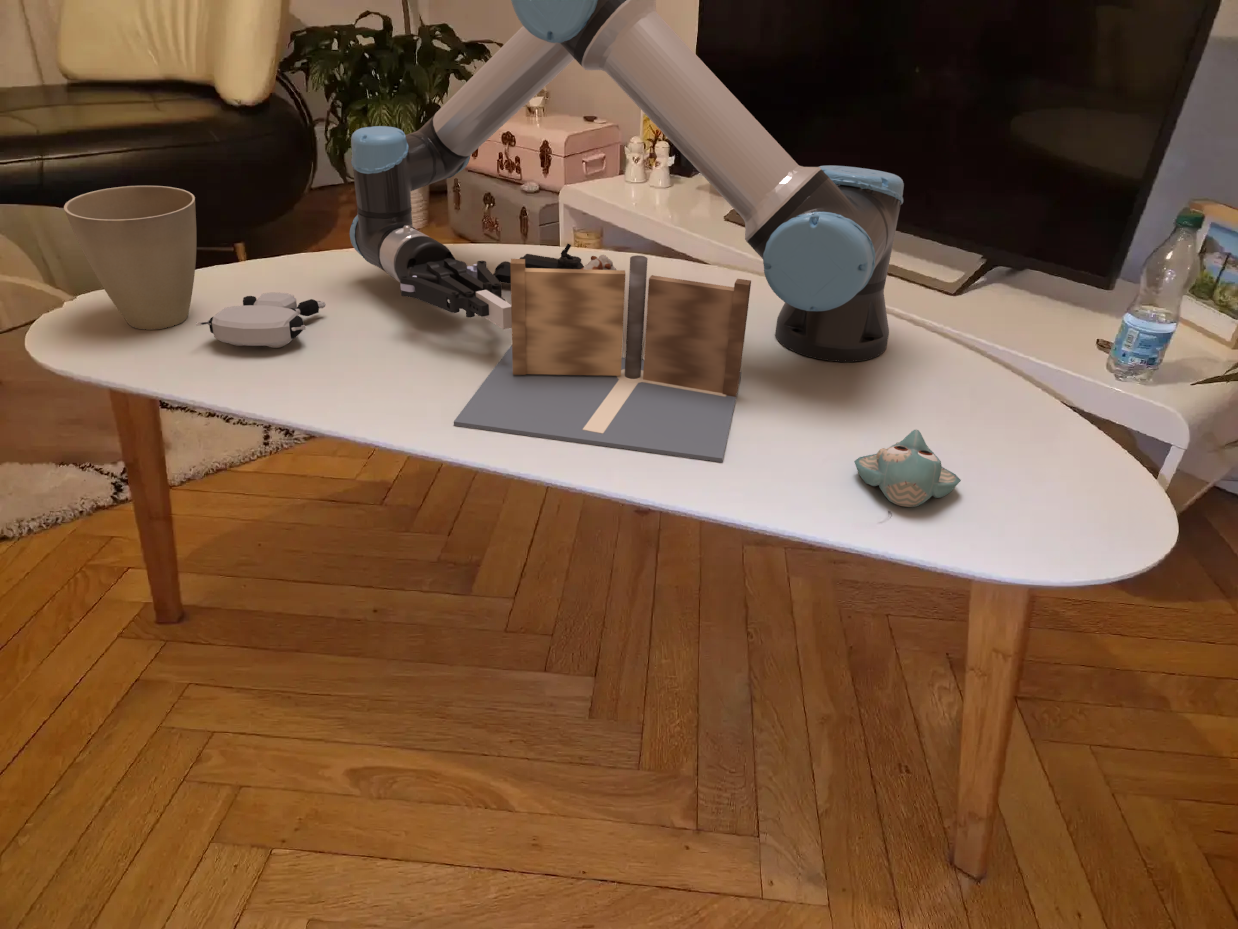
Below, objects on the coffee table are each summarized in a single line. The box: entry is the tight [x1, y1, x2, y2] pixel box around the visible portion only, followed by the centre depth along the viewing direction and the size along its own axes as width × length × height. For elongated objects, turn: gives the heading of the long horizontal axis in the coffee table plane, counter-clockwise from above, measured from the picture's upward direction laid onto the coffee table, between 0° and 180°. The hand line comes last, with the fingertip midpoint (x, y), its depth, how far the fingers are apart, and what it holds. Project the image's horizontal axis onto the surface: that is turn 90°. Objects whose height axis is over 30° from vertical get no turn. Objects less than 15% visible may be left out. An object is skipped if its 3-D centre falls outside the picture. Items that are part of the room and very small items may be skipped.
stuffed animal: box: [854, 428, 962, 508], centre depth 95 cm, size 11×7×12 cm
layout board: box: [453, 344, 742, 463], centre depth 110 cm, size 30×22×1 cm
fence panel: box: [510, 258, 626, 376], centre depth 111 cm, size 13×2×14 cm, turn 93°
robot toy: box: [195, 292, 327, 349], centre depth 122 cm, size 12×4×15 cm
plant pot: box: [63, 185, 197, 331], centre depth 121 cm, size 15×15×16 cm
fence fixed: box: [624, 255, 752, 398], centre depth 110 cm, size 14×2×16 cm, turn 73°
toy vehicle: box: [492, 242, 585, 285], centre depth 138 cm, size 8×15×9 cm, turn 76°
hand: (508, 317), depth 113 cm, fingers closed
